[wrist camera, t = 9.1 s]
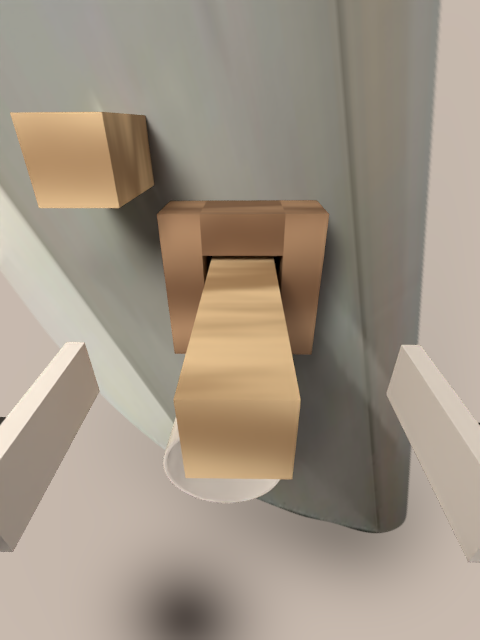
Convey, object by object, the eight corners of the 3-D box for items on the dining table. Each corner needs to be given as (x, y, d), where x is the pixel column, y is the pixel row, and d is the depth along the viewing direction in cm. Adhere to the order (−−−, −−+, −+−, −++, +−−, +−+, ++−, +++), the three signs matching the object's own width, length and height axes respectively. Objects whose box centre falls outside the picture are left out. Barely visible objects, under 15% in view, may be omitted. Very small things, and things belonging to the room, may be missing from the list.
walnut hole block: (170, 200, 23) (156, 214, 19) (316, 200, 23) (329, 214, 19) (183, 325, 28) (174, 353, 24) (303, 325, 28) (311, 354, 24)
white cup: (244, 319, 28) (243, 408, 19) (288, 382, 31) (304, 482, 22) (169, 359, 30) (137, 454, 21) (218, 413, 33) (208, 515, 24)
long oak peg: (215, 243, 24) (173, 399, 10) (270, 242, 24) (300, 400, 10) (218, 292, 26) (185, 478, 13) (268, 292, 26) (292, 479, 12)
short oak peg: (80, 115, 20) (10, 112, 14) (145, 115, 20) (101, 112, 14) (95, 185, 22) (39, 207, 16) (154, 185, 22) (119, 208, 16)
